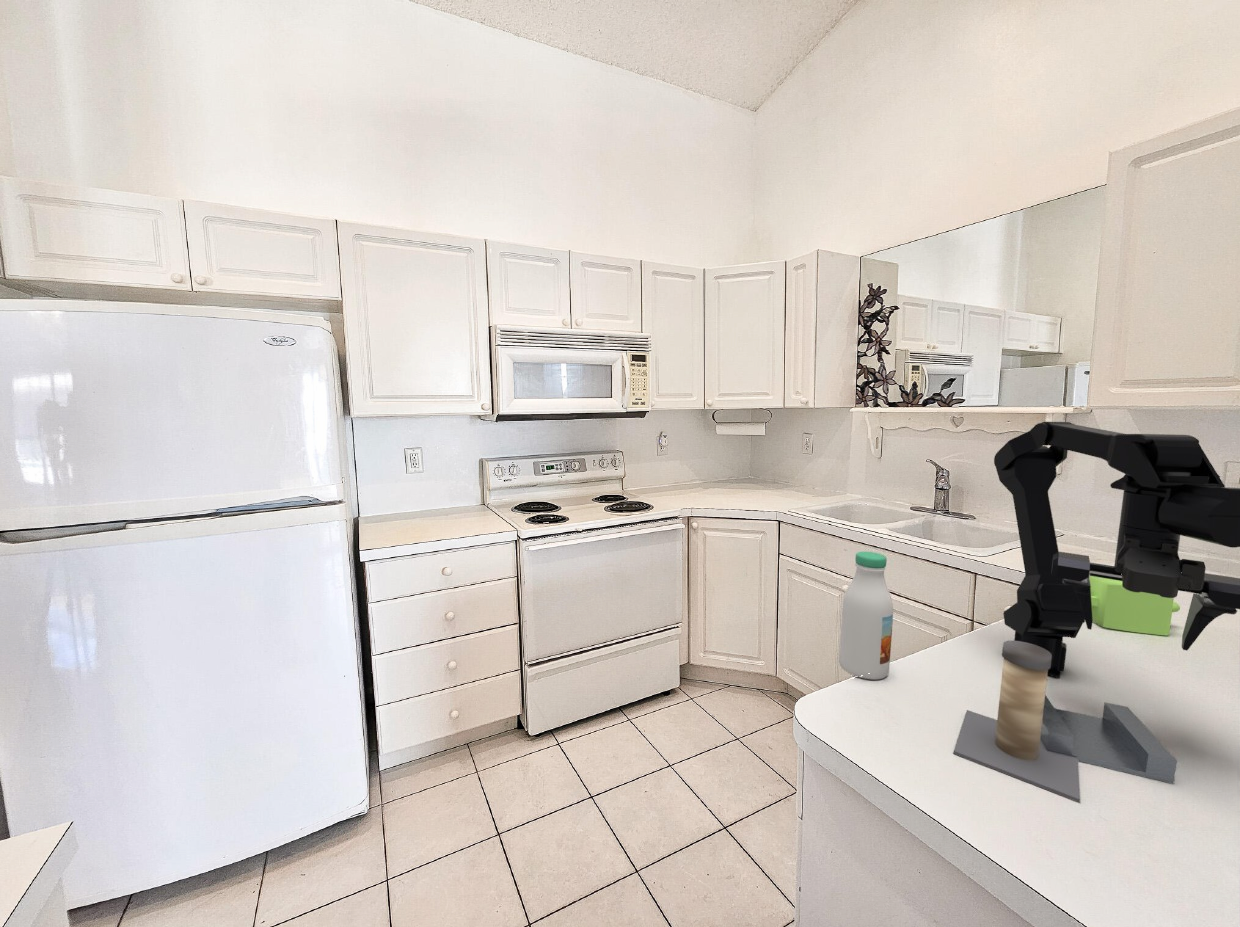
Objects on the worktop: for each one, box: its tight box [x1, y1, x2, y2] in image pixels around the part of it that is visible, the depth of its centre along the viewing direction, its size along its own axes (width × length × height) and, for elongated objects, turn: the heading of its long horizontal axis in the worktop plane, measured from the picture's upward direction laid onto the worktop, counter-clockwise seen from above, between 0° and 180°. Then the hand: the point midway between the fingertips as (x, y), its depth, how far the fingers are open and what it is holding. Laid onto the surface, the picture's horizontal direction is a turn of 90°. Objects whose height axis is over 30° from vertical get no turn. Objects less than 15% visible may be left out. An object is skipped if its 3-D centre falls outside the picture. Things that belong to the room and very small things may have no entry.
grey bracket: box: [1040, 694, 1178, 785], centre depth 68 cm, size 12×12×3 cm
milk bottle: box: [838, 551, 894, 681], centre depth 85 cm, size 8×8×20 cm
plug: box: [995, 640, 1052, 761], centre depth 64 cm, size 5×5×14 cm
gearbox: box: [1089, 576, 1181, 636], centre depth 106 cm, size 18×10×10 cm, turn 73°
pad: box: [953, 709, 1081, 803], centre depth 65 cm, size 12×12×1 cm
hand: (1134, 638), depth 69 cm, fingers open, 9 cm apart
